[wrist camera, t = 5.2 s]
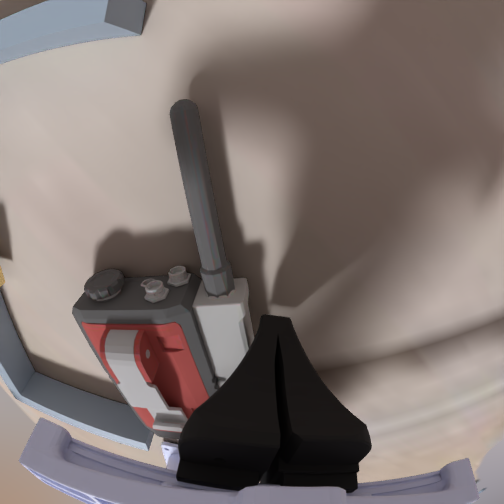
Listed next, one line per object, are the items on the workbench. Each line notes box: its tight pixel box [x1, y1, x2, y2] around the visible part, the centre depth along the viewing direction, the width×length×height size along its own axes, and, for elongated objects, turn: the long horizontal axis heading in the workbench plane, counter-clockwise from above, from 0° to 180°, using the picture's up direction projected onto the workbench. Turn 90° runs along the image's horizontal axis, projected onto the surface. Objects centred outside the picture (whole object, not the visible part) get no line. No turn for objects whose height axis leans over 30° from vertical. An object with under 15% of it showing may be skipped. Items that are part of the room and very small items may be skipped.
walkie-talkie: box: [72, 99, 254, 439], centre depth 14 cm, size 9×4×20 cm
